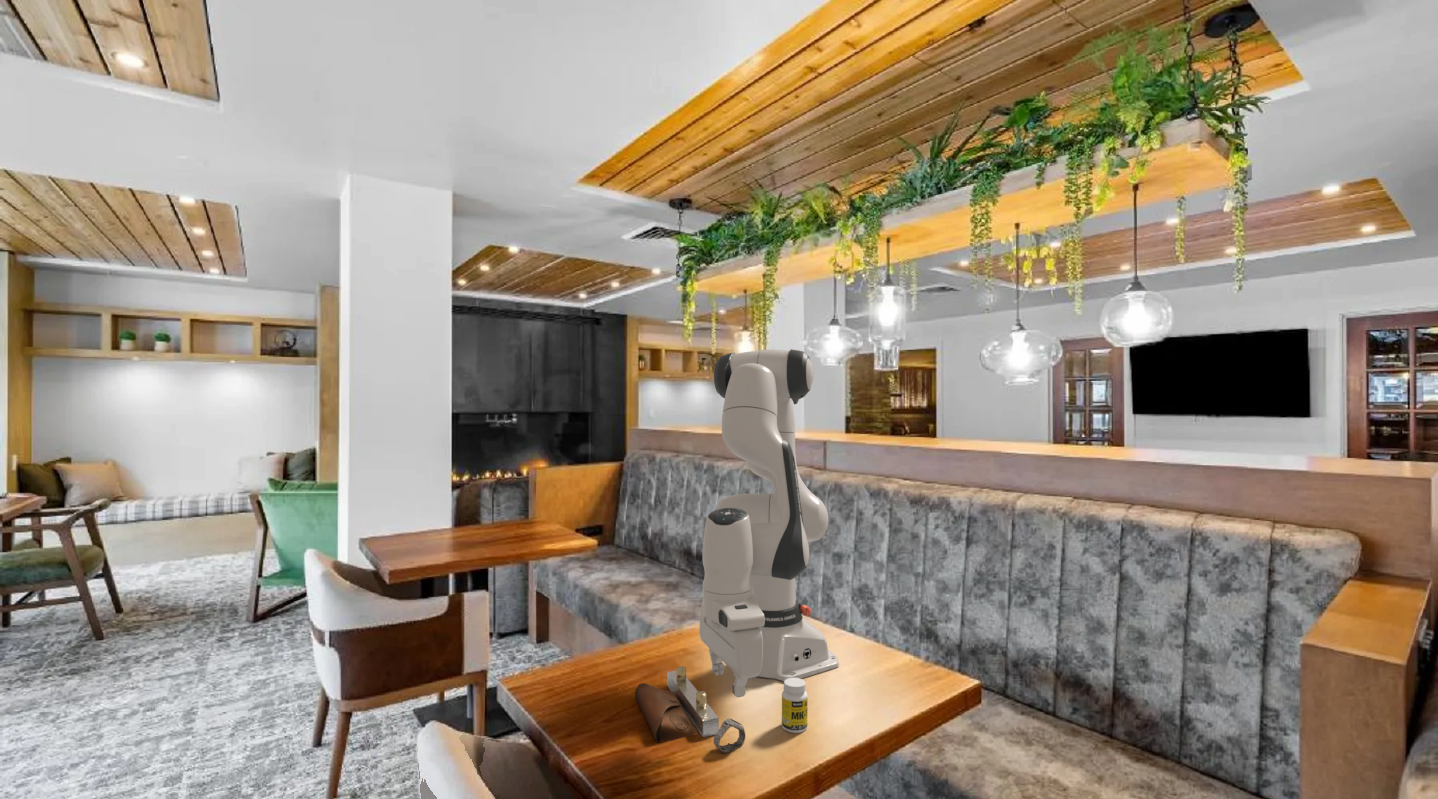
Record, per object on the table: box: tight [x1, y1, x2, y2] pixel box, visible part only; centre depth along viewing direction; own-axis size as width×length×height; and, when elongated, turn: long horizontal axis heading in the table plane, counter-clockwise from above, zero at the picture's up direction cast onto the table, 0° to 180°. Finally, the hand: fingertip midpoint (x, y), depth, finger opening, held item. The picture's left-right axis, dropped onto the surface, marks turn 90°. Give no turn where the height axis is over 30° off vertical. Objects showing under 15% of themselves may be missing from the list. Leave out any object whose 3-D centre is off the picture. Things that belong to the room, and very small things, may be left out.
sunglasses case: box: [634, 682, 698, 744], centre depth 124 cm, size 18×7×7 cm
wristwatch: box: [713, 717, 746, 754], centre depth 113 cm, size 4×6×5 cm, turn 127°
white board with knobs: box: [666, 665, 720, 738], centre depth 127 cm, size 3×22×6 cm, turn 22°
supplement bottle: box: [781, 678, 809, 734], centre depth 120 cm, size 5×5×8 cm
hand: (727, 684), depth 112 cm, fingers open, 8 cm apart
